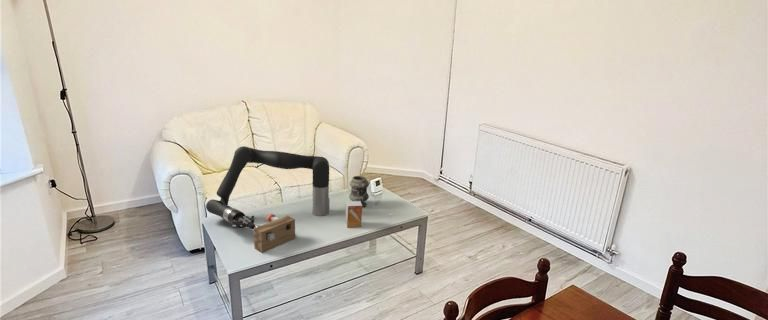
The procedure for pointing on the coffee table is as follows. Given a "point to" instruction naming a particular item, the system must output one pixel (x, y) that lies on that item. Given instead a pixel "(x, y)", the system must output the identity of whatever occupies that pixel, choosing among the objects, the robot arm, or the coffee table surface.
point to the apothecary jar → (359, 189)
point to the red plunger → (272, 218)
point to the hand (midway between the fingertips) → (253, 227)
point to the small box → (353, 214)
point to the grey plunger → (268, 234)
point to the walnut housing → (277, 228)
